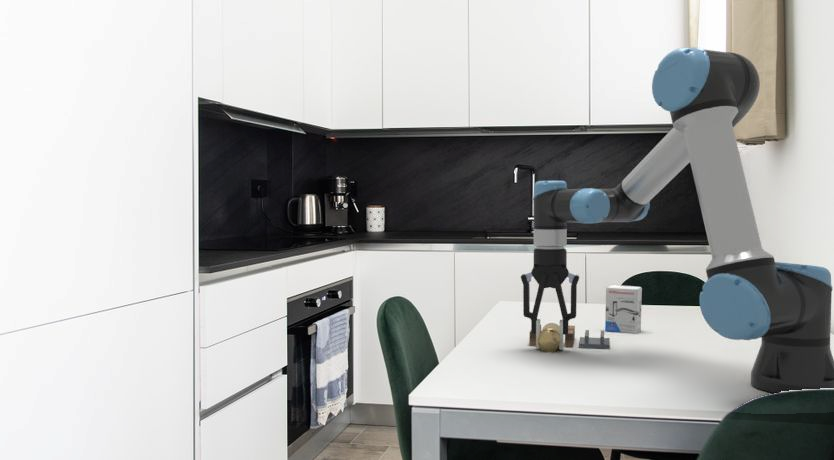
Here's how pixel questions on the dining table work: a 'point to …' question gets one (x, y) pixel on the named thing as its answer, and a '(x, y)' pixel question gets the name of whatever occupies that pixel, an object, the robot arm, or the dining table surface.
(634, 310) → the ink box
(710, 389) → the dining table surface
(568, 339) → the wooden rail pair
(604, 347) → the cradle
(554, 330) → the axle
